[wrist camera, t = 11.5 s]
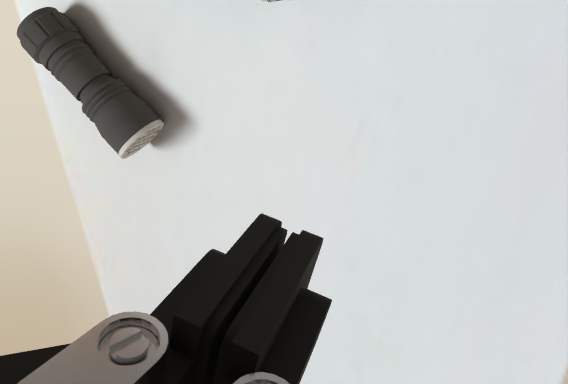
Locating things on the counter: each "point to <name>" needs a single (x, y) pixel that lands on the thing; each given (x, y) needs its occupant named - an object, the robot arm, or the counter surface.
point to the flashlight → (89, 81)
